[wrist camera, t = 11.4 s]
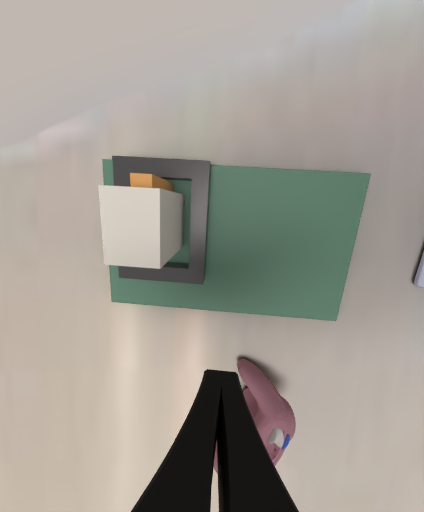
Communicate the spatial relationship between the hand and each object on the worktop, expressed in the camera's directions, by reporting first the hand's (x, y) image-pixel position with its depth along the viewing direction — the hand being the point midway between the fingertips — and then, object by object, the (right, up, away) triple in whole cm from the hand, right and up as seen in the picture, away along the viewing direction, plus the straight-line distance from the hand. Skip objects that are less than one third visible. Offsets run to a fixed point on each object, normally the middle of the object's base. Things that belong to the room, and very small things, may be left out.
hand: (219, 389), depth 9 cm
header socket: (-4, +9, +9) cm, 13 cm away
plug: (-4, +9, +8) cm, 12 cm away
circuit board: (+1, +7, +9) cm, 11 cm away
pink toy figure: (+2, -9, +13) cm, 16 cm away
